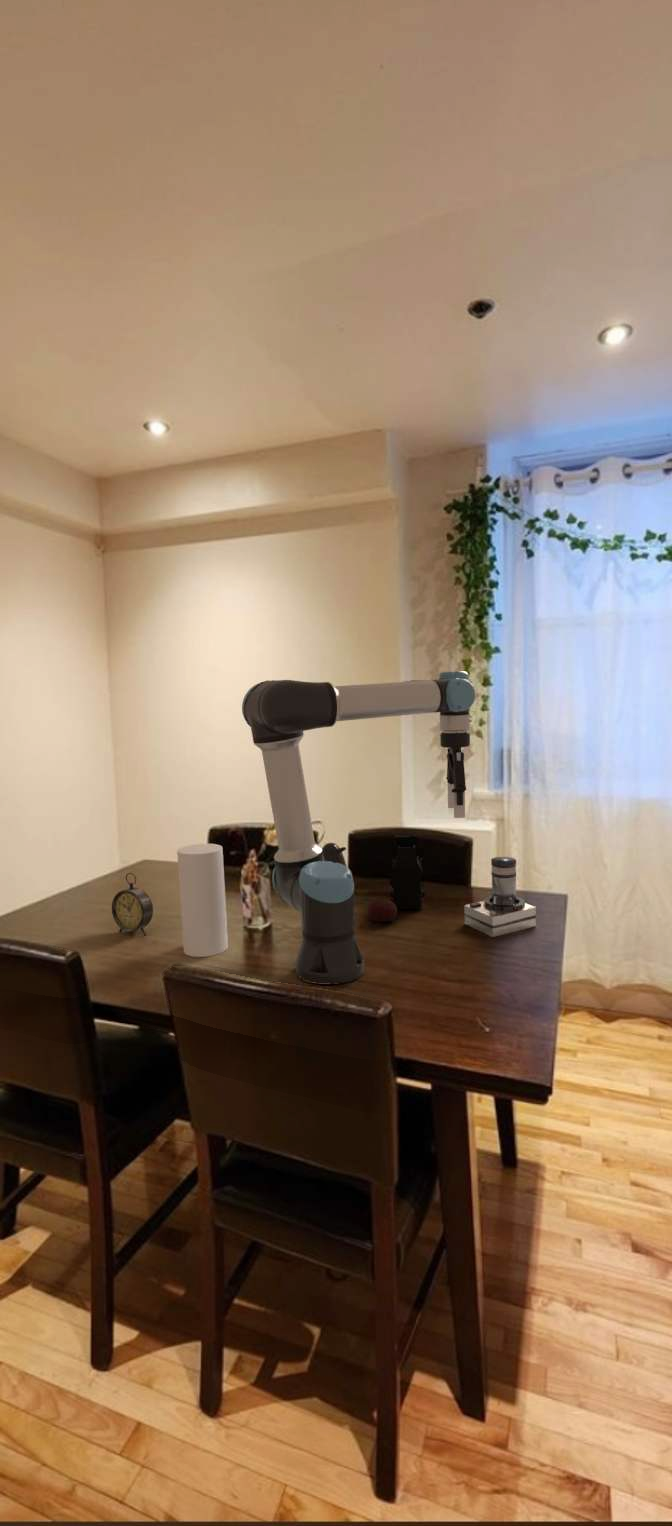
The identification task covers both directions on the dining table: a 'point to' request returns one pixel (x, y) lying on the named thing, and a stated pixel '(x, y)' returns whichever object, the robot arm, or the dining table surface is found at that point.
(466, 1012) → the dining table surface
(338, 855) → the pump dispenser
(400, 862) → the camera
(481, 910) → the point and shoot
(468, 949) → the dining table surface
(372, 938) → the dining table surface
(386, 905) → the potato
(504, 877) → the lens
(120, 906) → the alarm clock
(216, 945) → the tall pillar cylinder
